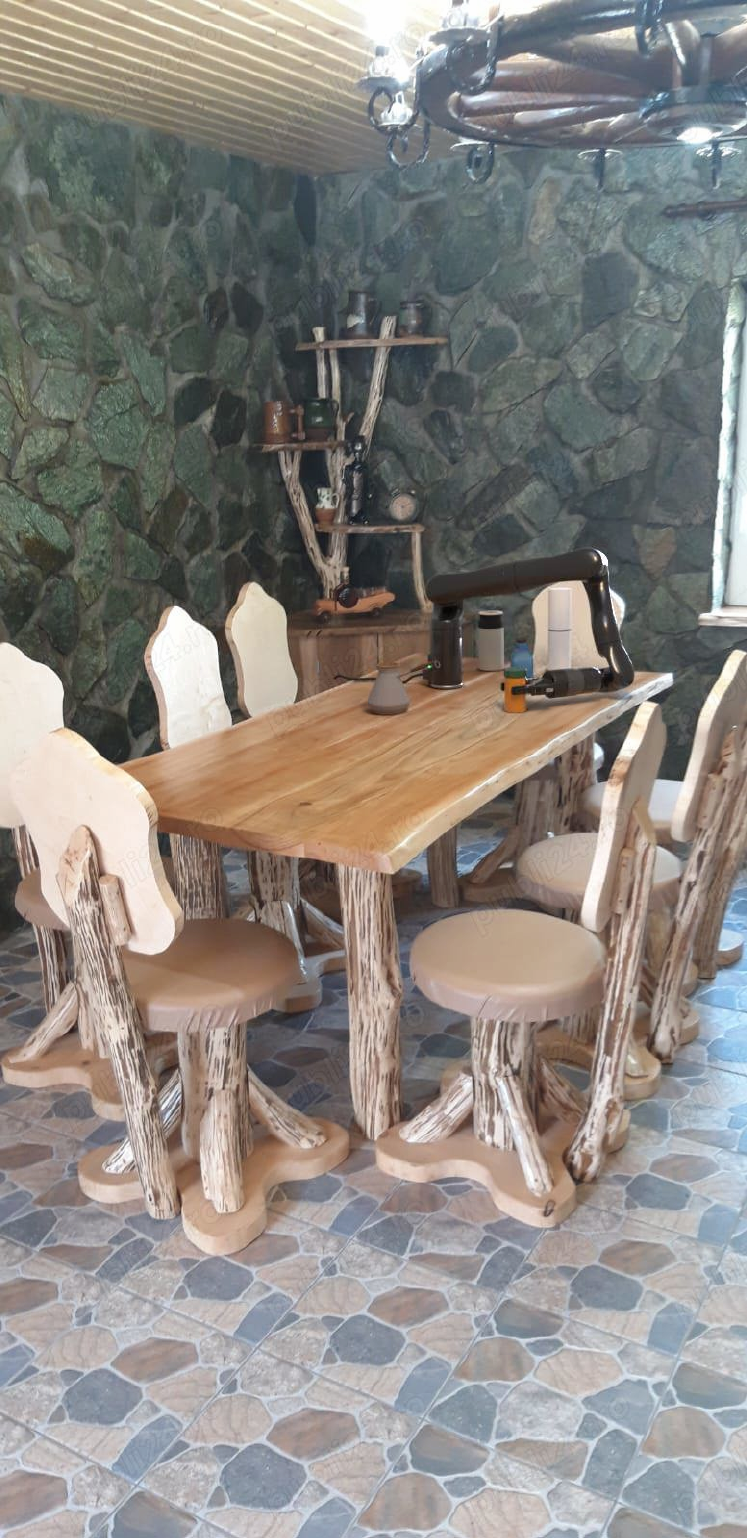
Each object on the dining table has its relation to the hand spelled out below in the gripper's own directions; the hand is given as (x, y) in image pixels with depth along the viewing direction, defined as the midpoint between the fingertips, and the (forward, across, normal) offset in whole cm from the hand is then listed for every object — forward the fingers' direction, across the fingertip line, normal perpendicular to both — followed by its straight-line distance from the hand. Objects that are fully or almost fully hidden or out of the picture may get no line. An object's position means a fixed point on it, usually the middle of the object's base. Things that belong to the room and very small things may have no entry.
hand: (506, 688), depth 309 cm
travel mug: (-23, -58, +6) cm, 62 cm away
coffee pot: (+25, -10, +6) cm, 28 cm away
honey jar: (-2, 0, +6) cm, 6 cm away
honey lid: (-2, 0, -5) cm, 5 cm away
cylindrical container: (-41, -46, +6) cm, 62 cm away
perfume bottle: (-25, -40, +6) cm, 47 cm away
